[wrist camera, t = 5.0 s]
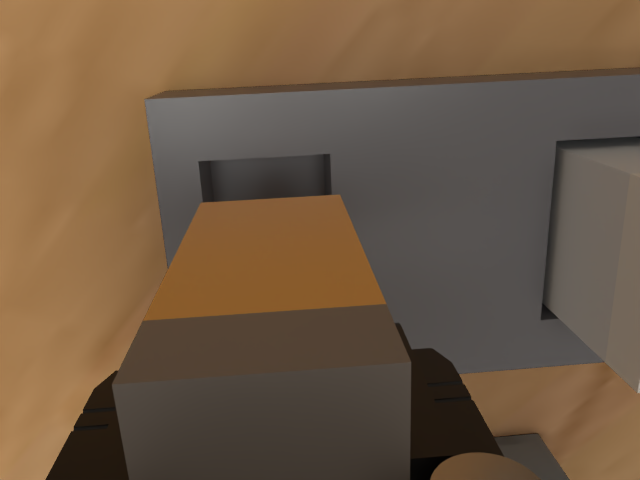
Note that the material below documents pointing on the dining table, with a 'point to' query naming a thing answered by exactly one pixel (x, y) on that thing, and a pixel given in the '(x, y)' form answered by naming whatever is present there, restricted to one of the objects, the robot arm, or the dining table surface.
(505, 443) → the parts tray
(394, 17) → the dining table surface
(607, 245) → the block
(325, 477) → the block
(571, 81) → the fuse holder
